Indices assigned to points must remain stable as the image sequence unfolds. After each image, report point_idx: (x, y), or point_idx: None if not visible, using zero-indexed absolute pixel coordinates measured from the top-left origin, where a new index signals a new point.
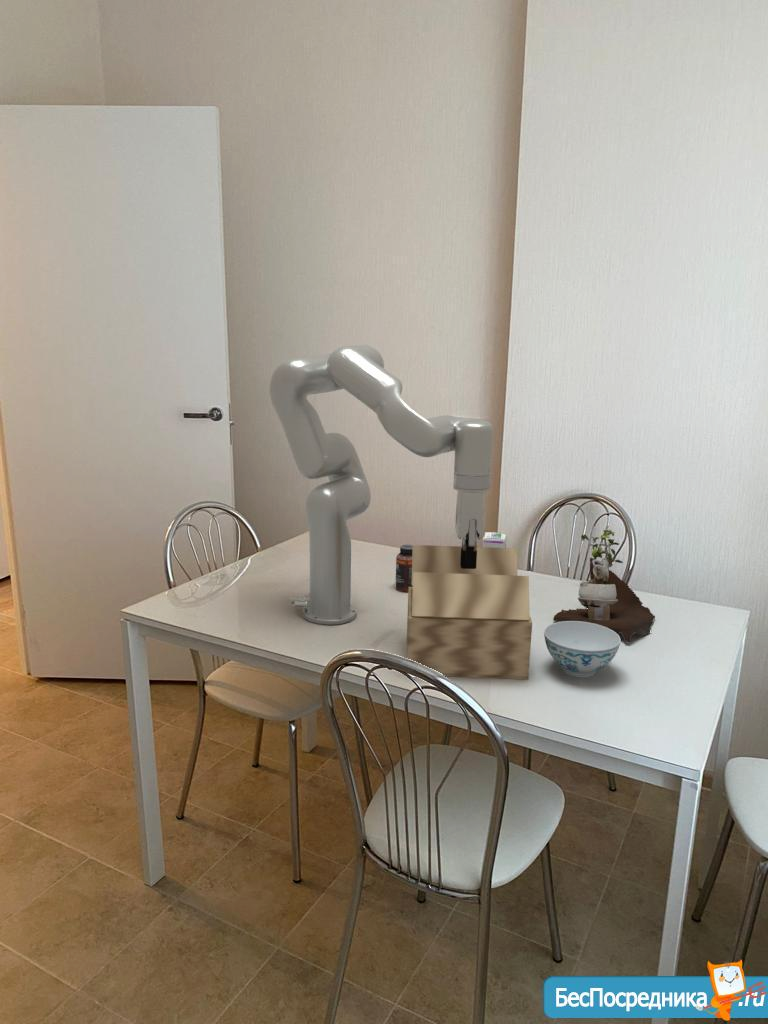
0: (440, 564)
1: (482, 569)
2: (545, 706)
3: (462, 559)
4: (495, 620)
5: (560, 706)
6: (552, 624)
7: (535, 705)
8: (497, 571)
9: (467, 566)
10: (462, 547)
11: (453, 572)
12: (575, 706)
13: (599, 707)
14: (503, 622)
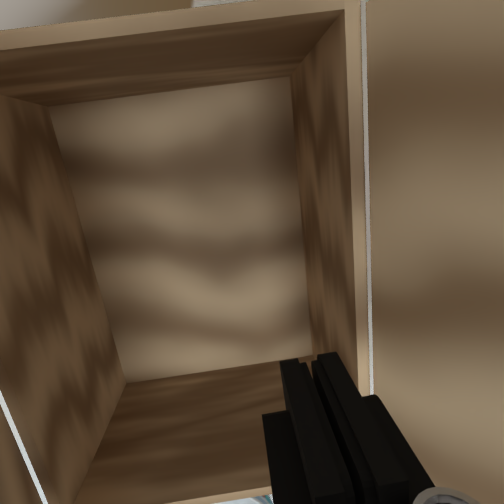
0: (497, 175)
1: (452, 408)
2: (6, 418)
3: (294, 417)
4: (24, 428)
5: (19, 442)
6: (248, 498)
7: (2, 402)
8: (441, 464)
9: (286, 408)
10: (415, 500)
11: (438, 255)
12: (31, 464)
13: (45, 497)
14: (29, 449)
